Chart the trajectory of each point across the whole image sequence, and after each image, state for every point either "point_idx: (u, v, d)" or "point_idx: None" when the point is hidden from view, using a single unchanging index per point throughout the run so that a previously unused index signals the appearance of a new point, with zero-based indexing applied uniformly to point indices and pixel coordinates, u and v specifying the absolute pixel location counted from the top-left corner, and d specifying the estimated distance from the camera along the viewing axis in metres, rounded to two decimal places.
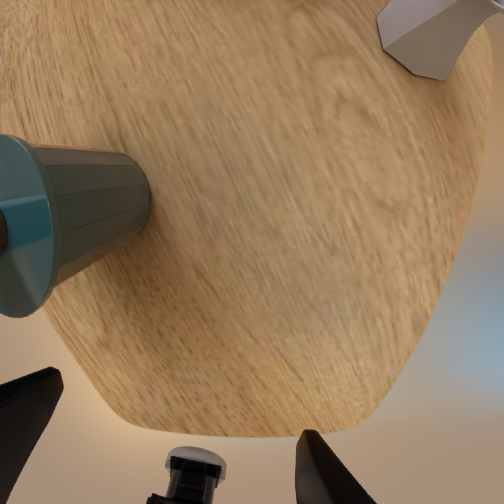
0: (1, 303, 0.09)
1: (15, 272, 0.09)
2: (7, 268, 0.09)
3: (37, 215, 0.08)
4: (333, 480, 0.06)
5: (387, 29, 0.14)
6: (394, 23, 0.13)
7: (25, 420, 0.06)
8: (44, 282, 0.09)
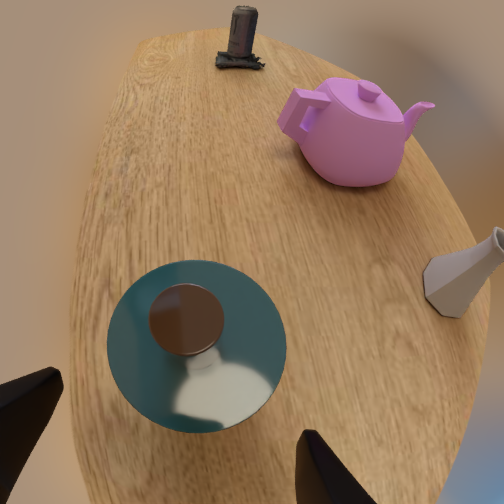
0: (161, 411, 0.10)
1: (213, 389, 0.11)
2: (201, 382, 0.11)
3: (270, 352, 0.12)
4: (333, 480, 0.06)
5: (431, 282, 0.26)
6: (437, 277, 0.26)
7: (25, 420, 0.06)
8: (253, 406, 0.11)
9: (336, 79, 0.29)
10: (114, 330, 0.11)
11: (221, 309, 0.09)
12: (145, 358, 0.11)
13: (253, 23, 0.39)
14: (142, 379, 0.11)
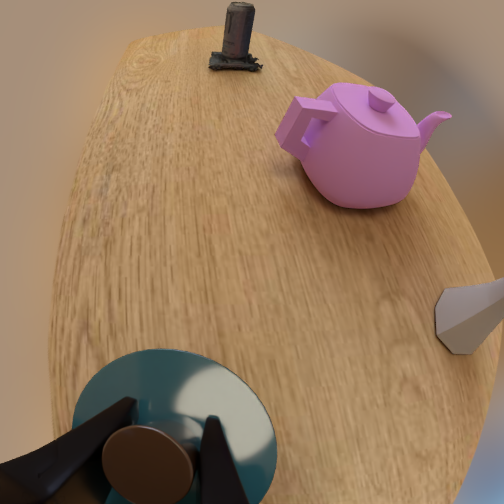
0: None
1: (192, 498, 0.07)
2: None
3: (257, 461, 0.08)
4: (211, 472, 0.06)
5: (443, 318, 0.23)
6: (450, 314, 0.22)
7: None
8: None
9: (343, 85, 0.25)
10: None
11: (188, 462, 0.06)
12: None
13: (249, 20, 0.35)
14: None
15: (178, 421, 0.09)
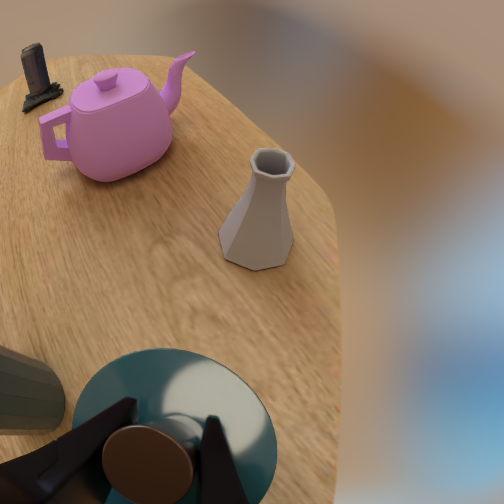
0: None
1: (192, 498, 0.07)
2: None
3: (257, 461, 0.08)
4: (211, 472, 0.06)
5: (224, 240, 0.27)
6: (227, 232, 0.26)
7: None
8: None
9: (84, 83, 0.25)
10: None
11: (189, 461, 0.06)
12: None
13: (39, 58, 0.31)
14: None
15: (178, 421, 0.09)
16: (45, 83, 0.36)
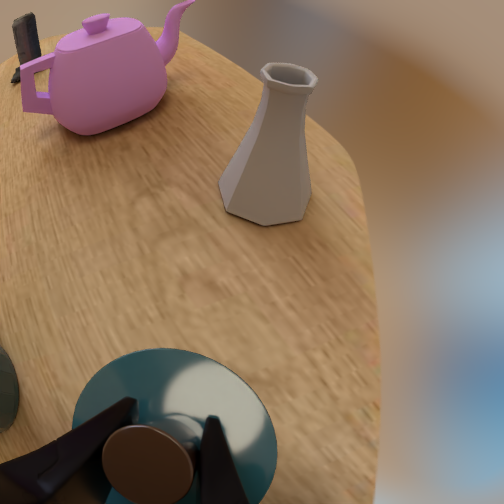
0: None
1: (192, 498, 0.07)
2: None
3: (258, 461, 0.08)
4: (211, 472, 0.06)
5: (226, 187, 0.21)
6: (229, 177, 0.20)
7: None
8: None
9: (72, 33, 0.19)
10: None
11: (189, 461, 0.06)
12: None
13: (31, 27, 0.25)
14: None
15: (179, 421, 0.09)
16: (36, 53, 0.30)
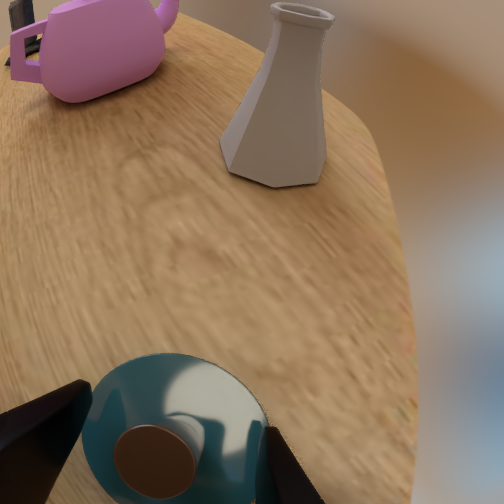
0: None
1: (194, 492, 0.08)
2: None
3: (255, 457, 0.09)
4: (285, 480, 0.06)
5: (228, 145, 0.17)
6: (233, 132, 0.17)
7: (57, 437, 0.06)
8: None
9: (67, 2, 0.16)
10: (88, 428, 0.09)
11: (192, 456, 0.06)
12: None
13: (27, 8, 0.22)
14: (121, 478, 0.08)
15: (182, 420, 0.10)
16: None
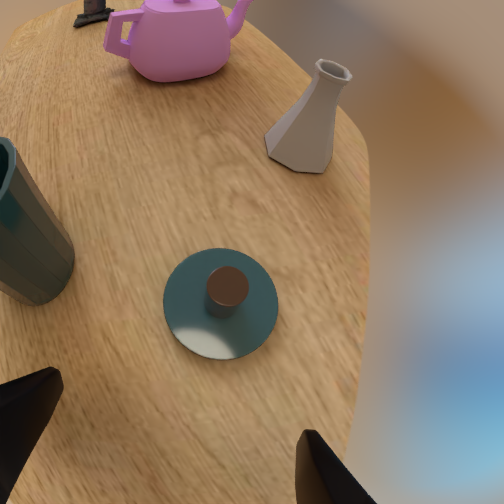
0: (195, 342, 0.18)
1: (229, 332, 0.19)
2: (222, 327, 0.19)
3: (267, 314, 0.20)
4: (333, 480, 0.06)
5: (271, 139, 0.27)
6: (275, 132, 0.26)
7: (25, 420, 0.06)
8: (252, 346, 0.19)
9: None
10: (169, 287, 0.19)
11: (248, 283, 0.17)
12: (189, 308, 0.19)
13: None
14: (185, 321, 0.18)
15: None
16: (101, 5, 0.34)
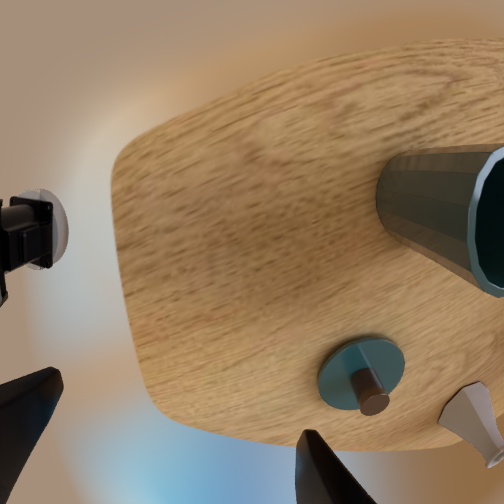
0: (335, 363, 0.21)
1: (338, 384, 0.22)
2: (343, 380, 0.22)
3: (346, 404, 0.23)
4: (333, 480, 0.06)
5: (474, 390, 0.23)
6: (477, 396, 0.22)
7: (25, 420, 0.06)
8: (325, 397, 0.22)
9: None
10: (381, 343, 0.21)
11: None
12: (363, 358, 0.21)
13: None
14: (353, 356, 0.21)
15: None
16: None
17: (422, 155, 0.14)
